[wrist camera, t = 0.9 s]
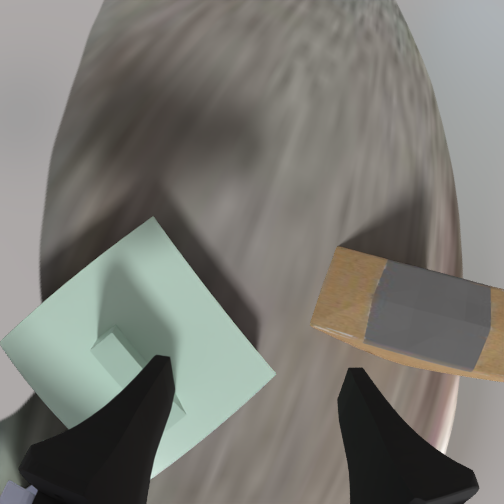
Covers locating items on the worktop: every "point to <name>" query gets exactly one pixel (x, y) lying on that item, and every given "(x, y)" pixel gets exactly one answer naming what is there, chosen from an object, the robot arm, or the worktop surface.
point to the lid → (138, 341)
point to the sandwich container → (413, 315)
